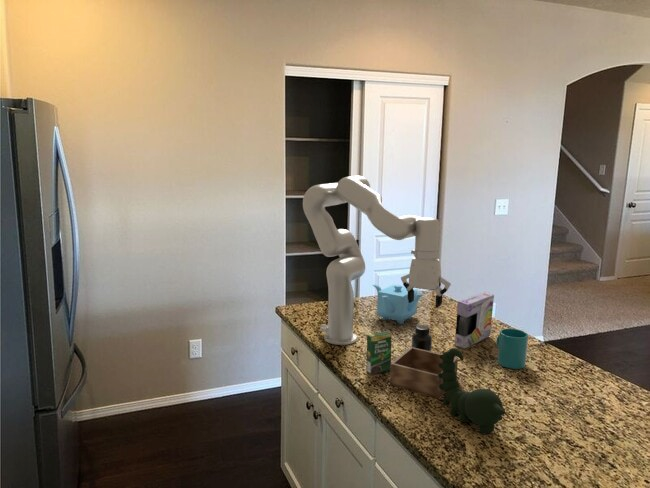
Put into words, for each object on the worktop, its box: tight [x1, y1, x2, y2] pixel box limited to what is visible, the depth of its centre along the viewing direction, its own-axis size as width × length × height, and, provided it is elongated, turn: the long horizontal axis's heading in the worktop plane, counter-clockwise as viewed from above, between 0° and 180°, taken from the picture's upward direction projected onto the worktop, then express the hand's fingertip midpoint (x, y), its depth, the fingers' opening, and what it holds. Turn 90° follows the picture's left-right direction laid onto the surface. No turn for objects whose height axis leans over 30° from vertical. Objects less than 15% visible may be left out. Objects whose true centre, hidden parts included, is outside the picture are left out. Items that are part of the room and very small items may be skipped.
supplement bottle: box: [410, 324, 433, 352], centre depth 175 cm, size 7×7×12 cm
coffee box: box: [366, 330, 392, 375], centre depth 166 cm, size 8×3×13 cm, turn 115°
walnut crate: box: [389, 346, 459, 399], centre depth 159 cm, size 16×16×7 cm
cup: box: [496, 328, 529, 370], centre depth 174 cm, size 9×12×11 cm
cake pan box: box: [454, 291, 495, 349], centre depth 192 cm, size 19×5×18 cm, turn 131°
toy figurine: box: [438, 347, 506, 435], centre depth 136 cm, size 9×19×25 cm
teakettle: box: [372, 284, 426, 325], centre depth 216 cm, size 19×19×15 cm
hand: (424, 304), depth 172 cm, fingers open, 9 cm apart
